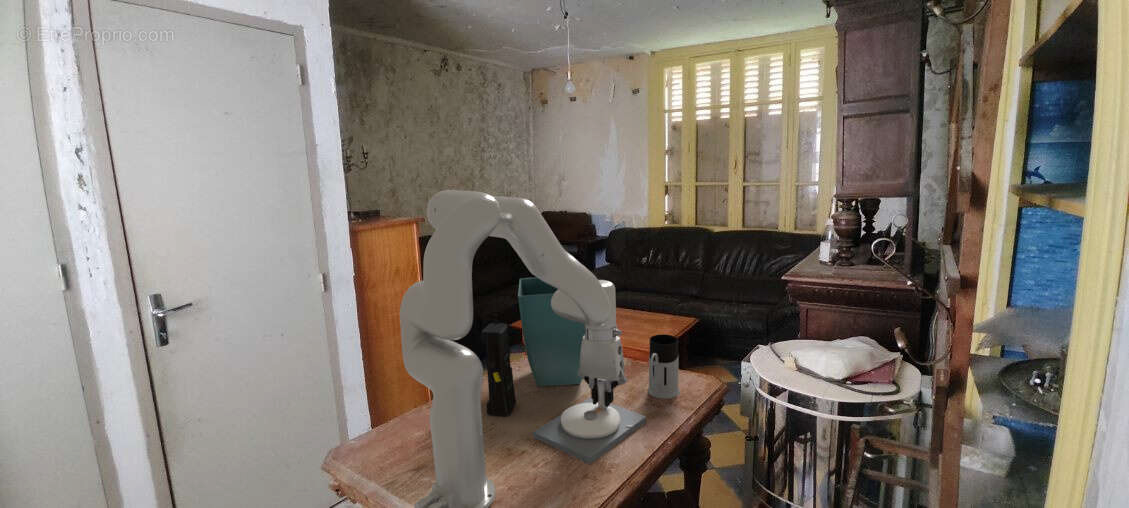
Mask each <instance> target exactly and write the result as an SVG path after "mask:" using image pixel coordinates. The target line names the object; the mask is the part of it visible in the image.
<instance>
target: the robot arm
mask: <svg viewBox="0 0 1129 508" xmlns="http://www.w3.org/2000/svg"><path fill="white" fill-rule="evenodd" d="M426 217H427V221H428V223H429V224H430V225H431V226H432V227H433V229H434V230H435V231H434V232H433V234H432V235H431V237H430V239H429V240H428V243H427V245H426V247H425V251H424V253H423V254H424V255H423V267H422V268H423V279H422V280H420V281H417V282H415V283H413V284H412V285H411V286H409V288H408V289H407V290H406V291H405V293H404V295H403V297H402V300H401V303H400V306H399V321H400V339H401V352H402V359H403V360H402V361H403V365H404V368H405V370H406V371H407V373H408V374H409V376H410V377H411V378H413V379H414V380H415V381H417V382H418V383H420V384H421V385H424V386H425V387H426V388H428V389H429V390H431V392H432V394H433V395H432V397H433V398H432V404H431V407H430V411H429V424H430V432H431V442H432V443H431V444H432V450H433V451H432V452H433V462H434V463H433V464H434V472H435V473H434V474H435V482H434V483H432V484H431V485H430V486H431V491H430V492H428V494H427V496H425V497H422V498H421V499H419V500H417V501H416V502H414V508H489V507H490V506H491V505H492V504H493V502H494V501H495V498H496V486H495V484H494V482H493V481H492V480H491V479H490V478H489V477H487V470H486V457H485V445H484V430H483V422H482V421H483V417H482V389H483V382H484V381H483V380H484V368H483V364H482V362H481V360H480V358H479V356H478V355H477V354H476V353H475V352H474V351H472V350H471V349H470V348H468V347H466V346H465V345H462V344H459V343H458V342H455V341H457V340H460V339H462V338H464V337H466V336H467V335H468V334H469V332H470V331H471V329H472V326H473V324H474V323H473V322H474V299H473V280H472V279H473V277H472V275H473V274H472V273H473V260H474V257H475V255H476V253H477V251H478V250H479V248H480V246H481V244H483V242H484V241H485V240H486V239H487V238H488V237H494V238H501V239H505V240H506V241H507V242H508V243H509V244H510V246H511V247H512V248H513V250H514V251H515V252H516V253H517V256H518V257H519V258H520V259H521V261H522V263H523V264H524V265H525V266H526V268H527V269H528V271H529V272H530V273H531V275H533V276H535V278H536V277H538V278H539V279H540V280H542V281H544V282H545V283H547V284H549V285H551V286H553V287H555V288H557V289H558V290H557V291H556V292H555V293H554V295H553V296H552V299H551V307H552V309H553V311H554V312H555V313H556V314H557V315H558V316H560V317H562V318H565V319H568V320H571V321H575V322H579V323H582V324H585V335H584V336H583V338H582V344H581V351H580V368H579V370H578V372H577V375H578V376H579V377H581V378H582V380H584V382H585V383H587V385H588V388H589V389H590V397H591V399H593V404H597V402H598V384H597V381H598V380H599V379H605V380H606V391H605V393H604V395H605V406H606V407H608V406H609V405H610V404H613V402H614V389H616V388H617V387H619V386H621V385H625V384H626V383H627V382H628V378H627V376H626V374H625V360H624V352H623V345H622V341H621V338H620V336H622V333H623V331H622V329H619V328H618V325H617V309H616V308H617V304H616V303H617V302H616V301H617V299H616V286H615V284H614V283H613V282H611V281H609V280H605V279H598V278H597V276H595V274H594V273H593V272H592V271H590V269H588V268H587V267H586V266H585V265H584V264H582V263H581V262H579V260H578V259H576V258H575V257H574V256H573V255H572V254H570V253H569V252H568V251H566V250H565V249H564V247H563V245H562V244H561V243H560V241H559V240H558V238H557V237H556V235H555V234H554V231H552V229H551V227H550V226H549V224H548V223H547V221H546V220H545V219H546V218H544V216H543V215H542V213H541V212H540V210H539V209H538V207H537V206H536V205H535V204H534V202H532V201H530V200H529V199H526V198H522V197H513V196H512V197H511V196H499V195H498V196H497V195H491V194H488V193H485V192H482V191H476V190H475V191H473V190H458V189H456V190H455V189H444V190H441V191H438V192H436V193H435V194H434V195H433V196H432V197H430V199H429V201H428V203H427V205H426Z"/></svg>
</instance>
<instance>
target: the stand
mask: <svg viewBox="0 0 1129 508" xmlns="http://www.w3.org/2000/svg"><path fill="white" fill-rule="evenodd" d="M582 403H593V399H591V396H590V397H587V398H586V399H585V400H583V401H582V402H580V403H579V404H582ZM597 403H598V402H597ZM609 406H610V407H612V408H614V409H615V410H616V411H617V412H618V413H619V415H620V426H619V428H618V430H617V431H616V432H614V433H613V434H611V435H609V436H606V437H602V438H597V439H584V438H578V437H575V436H572V435H570V434H568V433H567V432H565V431H564V430H563V428H562V426H561V416H562V413H561V414H560V415H558V416H556V417H554V418H553V419H552V420H550V421H548V422H546V423H545V424H543V425H541V426H540V427H538V428H536V429H535V430H533V431H532V438H534V439H535V440H537V439H538V441H540V442H542V443H544V444H546V445H548V446H550V447H552V446H553V448H554V447H555V448H554V449H556V448H557V450H558V449H559V451H561V452H563V453H565V454H567V455H569V456H571V457H573V458H576V459H578V460H580V461H582V462H584V463H587V464H588V465H591V464H592V463H594V462H595V461H596V460H598V459H600V457H602V456H603V455H604V454H606V453H607V452H608V451H609V450H610V449H612V448H614V446H616V445H618V444H619V443H620V442H621V441H624V439H625V438H627V437H628V436H629V435H631V434H632V433H633V432H635V431H636V430H637V429H639V428H640V427H642V426H643V425H644V424H646V422H647V416H646V415H643V414H640V413H639V412H635V411H634V410H633V411H632V410H630V409H627V408H625V407H622V406H619V405H616V404H613V403H611V404H610V405H609Z"/></svg>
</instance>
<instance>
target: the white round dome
mask: <svg viewBox="0 0 1129 508" xmlns="http://www.w3.org/2000/svg"><path fill="white" fill-rule="evenodd" d="M597 384H598V403H597V404H593V403H582V404H580V403H577V404H574V405H572V406H570V407H568V408H566V409H565V410H564V411H563V412H562V413H561V414H562V416H561V426H562V428H563V430H564V431H565V432H567V433H568V434H570V435H572V436H575V437H578V438H584V439H597V438H602V437H606V436H609V435H611V434H613V433H614V432H616V431H617V430H618V428H619V426H620V415H619V413H618V412H617V411H616V410H615V409H614V408H612V407H610V406H608V407H606V406H605V395H604V393H605V391H606V380H605V379H599V378H598V381H597Z"/></svg>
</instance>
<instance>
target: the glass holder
mask: <svg viewBox="0 0 1129 508" xmlns="http://www.w3.org/2000/svg"><path fill="white" fill-rule="evenodd" d="M679 362H680V361H679V339H678V337H676V336H674V335H671V334H663V333H662V334H655V335H651V336H650V337H649V354H648V388H647V393H648V394H649V395H650V396H652V397H654V398H658V399H662V400H665V399H669V400H670V399H674V398H676V397H678V396H679V395H680V393H681V390H680V388H679Z"/></svg>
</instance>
